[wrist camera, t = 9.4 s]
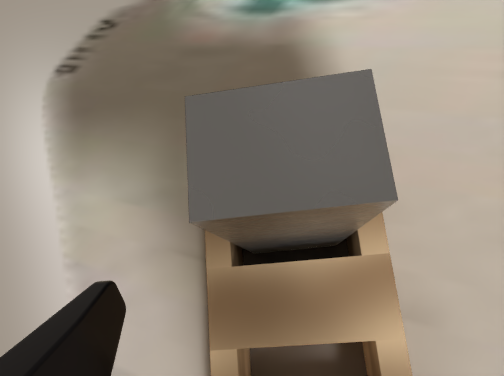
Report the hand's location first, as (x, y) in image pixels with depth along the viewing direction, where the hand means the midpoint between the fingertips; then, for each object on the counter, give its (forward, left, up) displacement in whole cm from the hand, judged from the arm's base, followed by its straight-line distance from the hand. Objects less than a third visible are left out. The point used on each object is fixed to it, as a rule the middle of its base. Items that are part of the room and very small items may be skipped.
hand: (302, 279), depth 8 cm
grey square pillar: (+3, 0, -13) cm, 13 cm away
